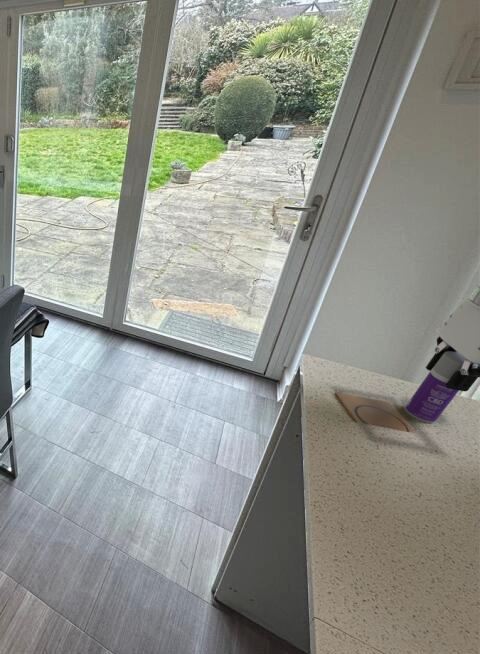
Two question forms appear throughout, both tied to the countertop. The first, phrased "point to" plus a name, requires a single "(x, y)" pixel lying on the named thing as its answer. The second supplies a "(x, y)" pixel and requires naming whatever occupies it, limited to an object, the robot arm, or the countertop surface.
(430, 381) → the container
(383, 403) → the coaster
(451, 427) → the countertop surface
